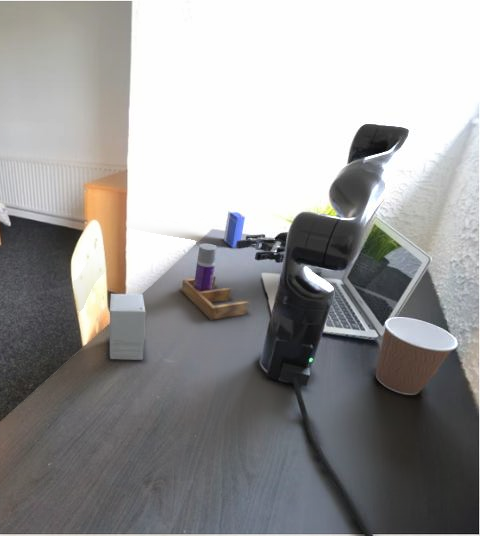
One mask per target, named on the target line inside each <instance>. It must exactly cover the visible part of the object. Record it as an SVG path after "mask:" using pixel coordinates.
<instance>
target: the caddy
mask: <svg viewBox="0 0 480 536" xmlns="http://www.w3.org/2000/svg"><path fill="white" fill-rule="evenodd" d="M216 279H217V277H216V276H215V275H213V281H212V288H211V290H208V291H201V292H199V291H198V290H197V289H196V288H195V287H194V282H195V277H193V278H186V279H182V281H181V282H182V283H181V291H182V293H183V294H184V295H185V296H186V297H188V299H189V300H190V301H191V302H192V303H194V304H195V306H197V308H199V310H201V311H202V313H204V314H205V315H206V316H207V317H208V319H210V321H213V320H220V319H225V318H232V317H238V316H243V315H247V311H248V305H249V302H248V301H246V300H244V301H243V300H242V301H237V302H230V303H223V304H217V305H214V304H213V303H219V302H225V301H230V297H231V291H232V289H231V288H230V287H223V288H216V289H214V288H215V284H216Z"/></svg>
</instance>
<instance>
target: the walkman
mask: <svg viewBox="0 0 480 536" xmlns="http://www.w3.org/2000/svg"><path fill="white" fill-rule="evenodd" d="M227 212H228V213H227V218H226V224H225V229H224V236H223V241H224V242H225V243H226V244H227V245H229V246H230V247H231V248H232V249H235V248H236V243H237V241H239V240H242V236H243V230H244V229H243V228H244V226H245V225H244V224H245V219H246V216H244V214H242V213H239V212H238V211H236V210H228V211H227Z"/></svg>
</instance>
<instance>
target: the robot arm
mask: <svg viewBox="0 0 480 536" xmlns="http://www.w3.org/2000/svg"><path fill="white" fill-rule="evenodd" d="M414 140H415V132H414V130H413V128H411V127H409V126H407V125H403V124H395V123H393V124H392V123H383V122H382V123H381V122H364V123H362V124H361V125H360V126H359V127H358V128H357V130H356V132H355V133H354V136H353V137H352V140H351V142H350V146H349V150H348V154H347V161H346V165H345V166H344V167H342V169H341V170H340V171H339V172H338V174H337V175H336V177H335V179H334V180H333V181H332V183H331V184H330V186H329V190H328V200H329V204H330V205H331V207H332V210H334V212H335V214H336V215H332V214H326V213H319V212H313V211H305V210H304V211H301V212H299V213H298V214H296V215H295V217H294V218H293V219H292V221H291V223H290V225H289V229H288V231H285V232H280V233H278V234H277V235H276V236H274V237H266V234H264V233H262V234H260V233H259V234H251V235H249V234H248V235H246V237H245V239H241V240H239V241H237V243H236V248H237V249H238V250H239V249H247V248H252V249H255V250H257V252H256V253H255V255H254V260H256V261H264V260H265V261H266V260H269V261H275V263H278V264H279V263H281V269H280V273H279V278H278V283H277V284H278V285H277V288H276V292H275V297H274V300H273V303H272V304H273V305H272V309H271V313H270V317H269V321H268V326H267V329H266V334H265V338H264V342H263V346H262V347H263V348H262V351H261V356H260V357H259V361H258V363H259V364H258V365H259V367H260V369H261V370H262V371H263V373H264V374H266V378H267V379H270V380H274V381H278V382H282V383H285V384H288V385H293V389H294V394H295V397H296V400H297V404H298V407H299V410H300V414H301V416H302V420H303V423H304V426H305V429H306V432H307V435H308V437H309V440H310V442H311V445H312V447H313V449H314V451H315V453H316V456H317V457H318V459H319V460H320V462H321V463H320V464H321V465H322V466H323V467H324V469H325V472H327V474H328V476H329V478H330V479H331V481H332V482H333V484H334V486H335V487H336V488H337V490H338V492H339V494H340V496H341V498H342V499H343V501H344V502H345V504H346V506H347V507H348V509H349V511H350V513H351V514H352V515H353V519H355V521H356V523H357V525H358V526H359V528H360V530H361V532H362V534H363V535H364V536H374V534H373V533H372V530H371V529H370V527H369V526H368V524H367V523H366V521H365V519H364V517H363V516H362V514H361V512H360V510H359V509H358V507H357V505H356V503H355V502H354V501H353V499H352V498H351V495H350V494H349V492H348V491H347V489H346V487H345V485H344V484H343V482H342V481H341V479H340V478H339V476H338V475H337V473H336V472H335V470H334V468H333V467H332V465H331V464H330V462H329V461H328V459H327V457H326V455H325V454H324V451H323V450H322V447H321V446H320V444H319V442H318V439H317V436H316V434H315V432H314V429H313V426H312V423H311V419H310V417H309V414H308V411H307V407H306V404H305V400H304V398H303V394H302V390H301V387H302V386H304V387H307V386H308V383H309V381H310V377H311V374H312V373H311V372H312V369H313V367H314V366H313V365H314V362H315V359H316V356H317V353H318V349H319V346H320V343H321V340H322V337H323V333H324V332H325V331H324V330H325V328H326V325H327V321H328V318H329V316H330V311H331V310H332V306H333V302H334V299H335V296H336V290H335V288H334V286H333V285H332V284H331V283H330V282H329V281H327V280H326V279H324V278H323V277H321V276H319V275H318V274H317V273H316V272H314V271H313V270H312V269H311V268H310V267H313V268H318V269H322V270H325V271H331V272H339V273H341V272H345V271H346V270H347V271H348V269H350V268H351V267H352V266H353V264H354V263H355V262H356V260H357V259H358V257H359V255H360V253H361V251H362V250H361V248H362V245H363V242H364V240H365V237H366V234H367V235H368V231H369V229H370V226H371V223H372V221H373V219H374V217H375V214H376V213H377V211H378V209H379V208H380V206H381V204H382V202H383V201H384V199H385V197H386V195H387V194H388V192H389V190H390V187H391V185H392V182H393V180H394V178H395V175H396V173H397V171H398V169H399V168H400V167H401V165H402V164H403V162H404V161H405V159H406V158H407V157H408V154H409V153H410V152H411V149H412V147H413V144H414ZM360 250H361V251H360Z"/></svg>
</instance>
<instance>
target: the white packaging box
mask: <svg viewBox="0 0 480 536" xmlns="http://www.w3.org/2000/svg"><path fill="white" fill-rule="evenodd" d="M109 299H110V301H109V359H110V360H126V361H127V360H128V361H129V360H130V361H134V360H135V361H143V358H144V343H145V327H146V326H145V325H146V307H145V301H144V295H143V294H142V293H138V294H137V293H110V298H109Z"/></svg>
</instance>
